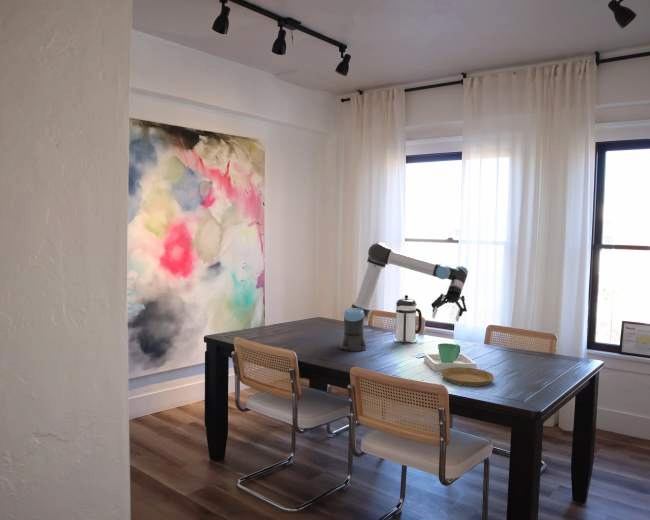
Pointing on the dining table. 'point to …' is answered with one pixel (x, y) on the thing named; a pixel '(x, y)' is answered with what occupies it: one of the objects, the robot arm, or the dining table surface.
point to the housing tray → (437, 365)
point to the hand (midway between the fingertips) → (444, 318)
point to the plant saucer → (467, 376)
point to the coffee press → (407, 320)
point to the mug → (448, 352)
